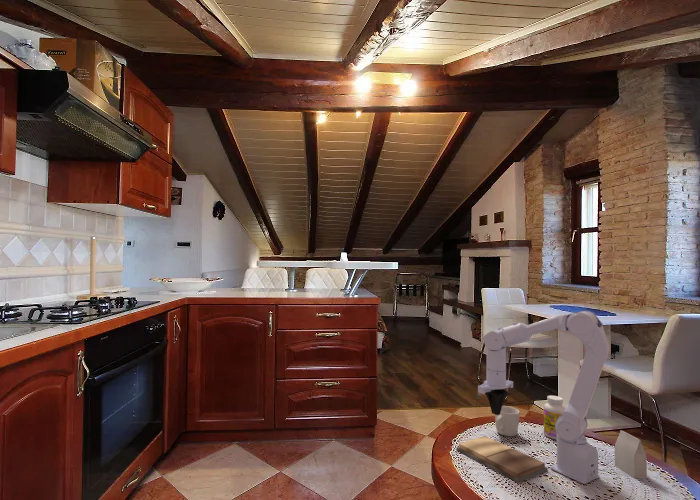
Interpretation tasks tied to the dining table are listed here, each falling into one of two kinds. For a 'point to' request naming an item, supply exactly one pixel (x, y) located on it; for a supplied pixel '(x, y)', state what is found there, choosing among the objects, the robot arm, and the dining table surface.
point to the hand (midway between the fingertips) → (495, 413)
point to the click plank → (483, 447)
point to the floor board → (511, 464)
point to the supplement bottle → (552, 415)
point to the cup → (507, 421)
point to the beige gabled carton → (630, 455)
